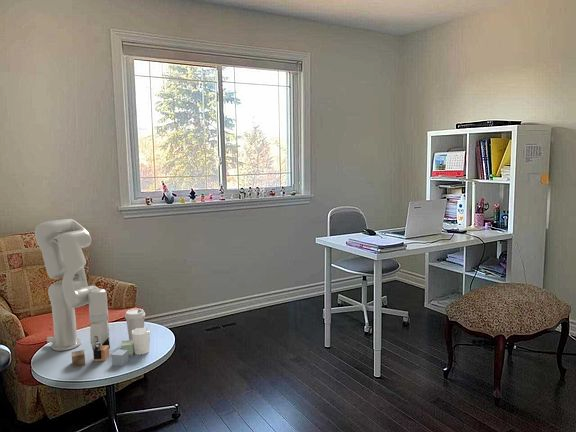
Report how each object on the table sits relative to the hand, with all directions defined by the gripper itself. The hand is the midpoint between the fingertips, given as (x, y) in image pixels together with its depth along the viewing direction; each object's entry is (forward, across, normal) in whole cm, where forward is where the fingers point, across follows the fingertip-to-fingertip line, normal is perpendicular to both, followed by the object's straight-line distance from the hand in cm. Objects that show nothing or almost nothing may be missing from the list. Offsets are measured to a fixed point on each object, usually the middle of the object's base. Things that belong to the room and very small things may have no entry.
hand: (102, 353), depth 201 cm
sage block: (+2, -5, +10) cm, 11 cm away
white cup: (+2, -6, +16) cm, 17 cm away
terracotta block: (+2, 0, 0) cm, 2 cm away
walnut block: (+2, +5, -8) cm, 10 cm away
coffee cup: (+2, -18, +10) cm, 21 cm away
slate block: (+2, +5, +10) cm, 11 cm away
